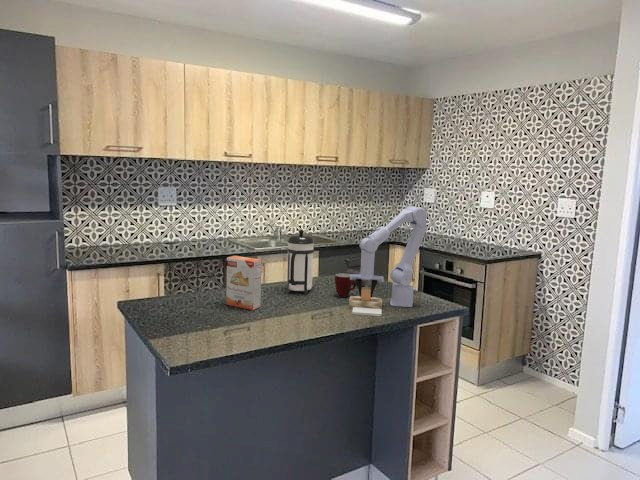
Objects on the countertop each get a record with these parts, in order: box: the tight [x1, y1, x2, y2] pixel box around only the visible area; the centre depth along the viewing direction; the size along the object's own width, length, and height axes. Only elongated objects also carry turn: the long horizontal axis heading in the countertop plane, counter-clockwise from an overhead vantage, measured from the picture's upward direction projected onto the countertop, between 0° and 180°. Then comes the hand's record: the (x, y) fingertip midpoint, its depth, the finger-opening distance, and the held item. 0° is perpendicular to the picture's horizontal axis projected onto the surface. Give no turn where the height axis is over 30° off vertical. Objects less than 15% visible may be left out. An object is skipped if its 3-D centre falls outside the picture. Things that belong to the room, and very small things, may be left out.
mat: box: [351, 307, 383, 317], centre depth 198 cm, size 12×7×1 cm, turn 83°
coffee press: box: [284, 229, 315, 296], centre depth 224 cm, size 17×16×30 cm
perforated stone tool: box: [345, 268, 366, 287], centre depth 246 cm, size 15×5×7 cm, turn 28°
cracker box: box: [226, 255, 262, 311], centre depth 199 cm, size 14×6×21 cm, turn 62°
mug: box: [334, 272, 357, 298], centre depth 222 cm, size 10×8×10 cm
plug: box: [361, 286, 371, 301], centre depth 206 cm, size 4×4×8 cm
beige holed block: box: [348, 295, 383, 309], centre depth 207 cm, size 14×9×3 cm, turn 83°
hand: (365, 296), depth 206 cm, fingers closed on plug, 4 cm apart
